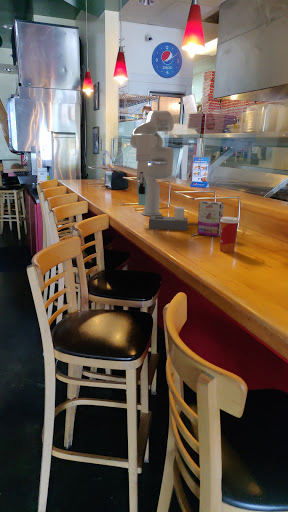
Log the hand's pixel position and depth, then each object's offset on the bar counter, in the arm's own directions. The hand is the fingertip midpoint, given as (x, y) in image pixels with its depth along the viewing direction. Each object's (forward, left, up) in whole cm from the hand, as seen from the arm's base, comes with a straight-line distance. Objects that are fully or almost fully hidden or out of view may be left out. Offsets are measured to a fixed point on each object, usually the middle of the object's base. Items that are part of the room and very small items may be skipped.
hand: (142, 193), depth 198 cm
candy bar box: (+17, +36, -18) cm, 43 cm away
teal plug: (0, 0, -6) cm, 6 cm away
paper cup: (+46, +42, -17) cm, 65 cm away
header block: (+5, +15, -17) cm, 23 cm away
